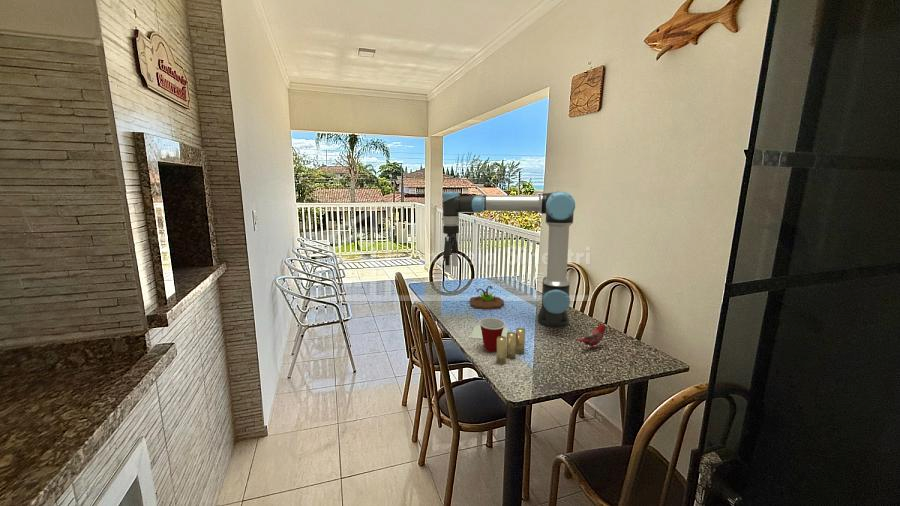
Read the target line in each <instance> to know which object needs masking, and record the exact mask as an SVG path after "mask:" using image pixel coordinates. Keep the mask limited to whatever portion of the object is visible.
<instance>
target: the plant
mask: <svg viewBox="0 0 900 506" xmlns="http://www.w3.org/2000/svg"><path fill="white" fill-rule="evenodd" d="M489 288H490V289H491V290H492V289H494V288H493V286H492V285H489V286H487V288H486V290H485V289H482V288H477V289H476V292H477V293H478V292H479V291H482V292H483V293H482V292H480V294H479V295H478V296H471V298H470V299H469V303H470V307H471V308H472V309H475V310H483V311H490V310H501V309H502V308H504V307H505V301H504V299H502V298H501V297H499V296H496V295H493V292H489Z"/></svg>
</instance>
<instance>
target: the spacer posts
mask: <svg viewBox="0 0 900 506" xmlns="http://www.w3.org/2000/svg"><path fill="white" fill-rule="evenodd" d="M525 340H526V329H525V328H523V327H518V328H517V327H516V329H515V332H514V331H508V333H507V338H506V337H504V336H498V337H497V351H496V364H498V365H505V364H506V363H507V359H508V360H515V359H516V355H519V356H521V355H525V347H526V346H525V345H526V344H525V343H526V341H525Z"/></svg>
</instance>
